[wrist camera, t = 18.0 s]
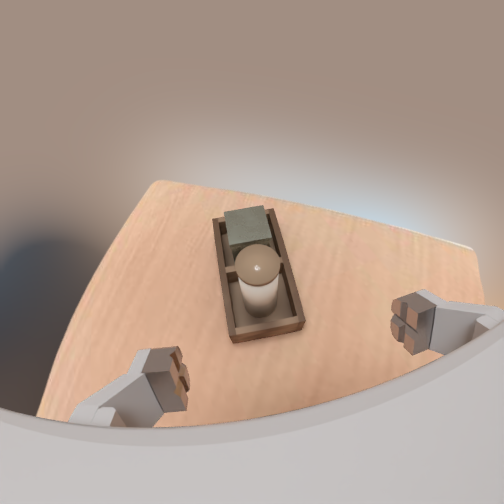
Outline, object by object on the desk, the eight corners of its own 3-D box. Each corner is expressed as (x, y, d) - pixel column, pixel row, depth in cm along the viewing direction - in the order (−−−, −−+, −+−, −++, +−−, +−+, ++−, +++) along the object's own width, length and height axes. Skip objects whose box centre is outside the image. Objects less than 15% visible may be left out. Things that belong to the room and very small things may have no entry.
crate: (233, 343, 42) (229, 335, 38) (216, 235, 53) (212, 219, 49) (301, 329, 43) (305, 320, 38) (273, 225, 54) (273, 208, 49)
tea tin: (234, 269, 47) (229, 245, 41) (229, 239, 51) (223, 212, 44) (271, 263, 48) (272, 237, 41) (263, 233, 51) (263, 205, 44)
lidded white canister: (246, 321, 43) (239, 287, 32) (240, 290, 45) (231, 248, 35) (280, 314, 43) (285, 278, 32) (273, 284, 46) (274, 240, 35)
